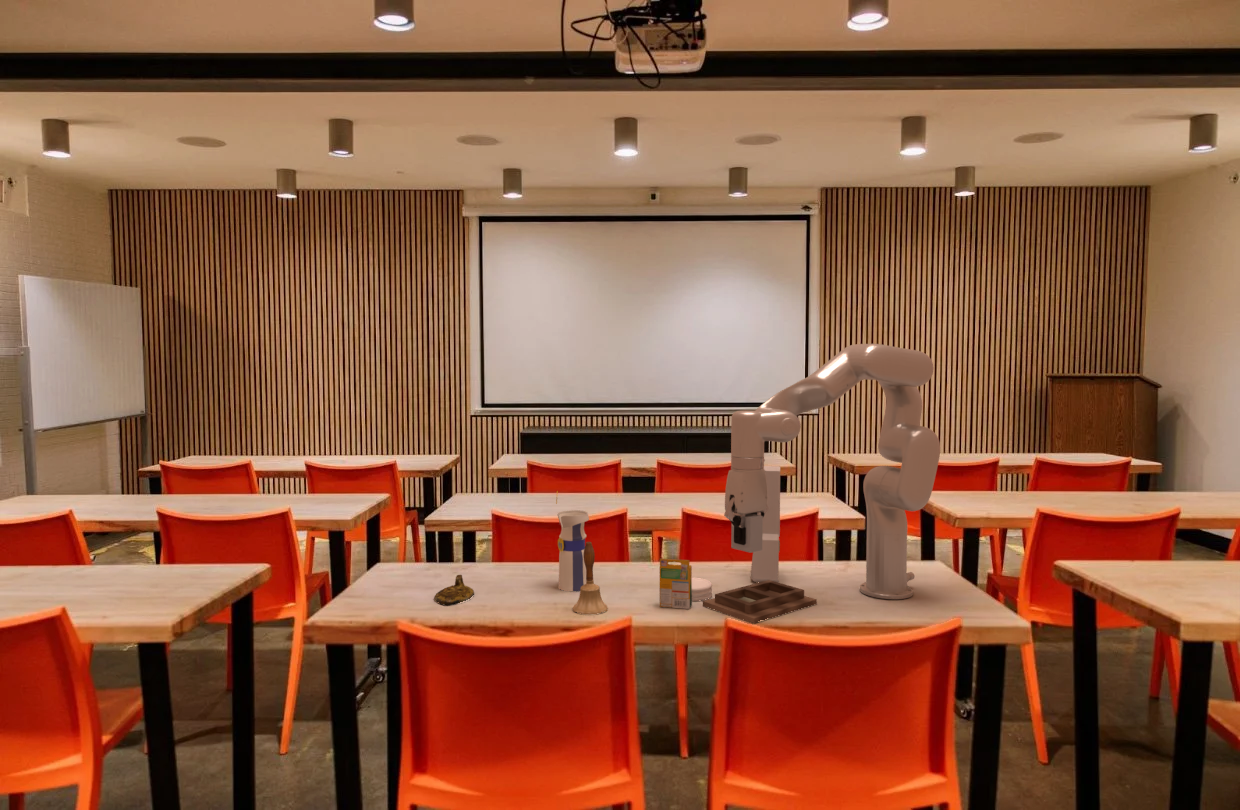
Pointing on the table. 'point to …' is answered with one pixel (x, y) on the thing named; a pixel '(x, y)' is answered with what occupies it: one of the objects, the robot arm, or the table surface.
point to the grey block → (750, 534)
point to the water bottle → (572, 550)
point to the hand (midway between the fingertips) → (746, 541)
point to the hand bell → (589, 588)
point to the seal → (454, 593)
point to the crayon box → (675, 584)
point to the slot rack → (760, 601)
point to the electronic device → (769, 532)
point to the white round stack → (701, 589)
